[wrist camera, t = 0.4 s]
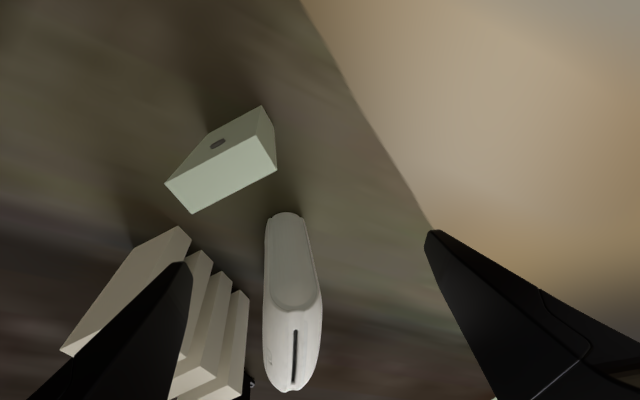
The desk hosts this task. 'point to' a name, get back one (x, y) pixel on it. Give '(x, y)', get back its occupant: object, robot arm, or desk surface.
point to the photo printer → (290, 303)
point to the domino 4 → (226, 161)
